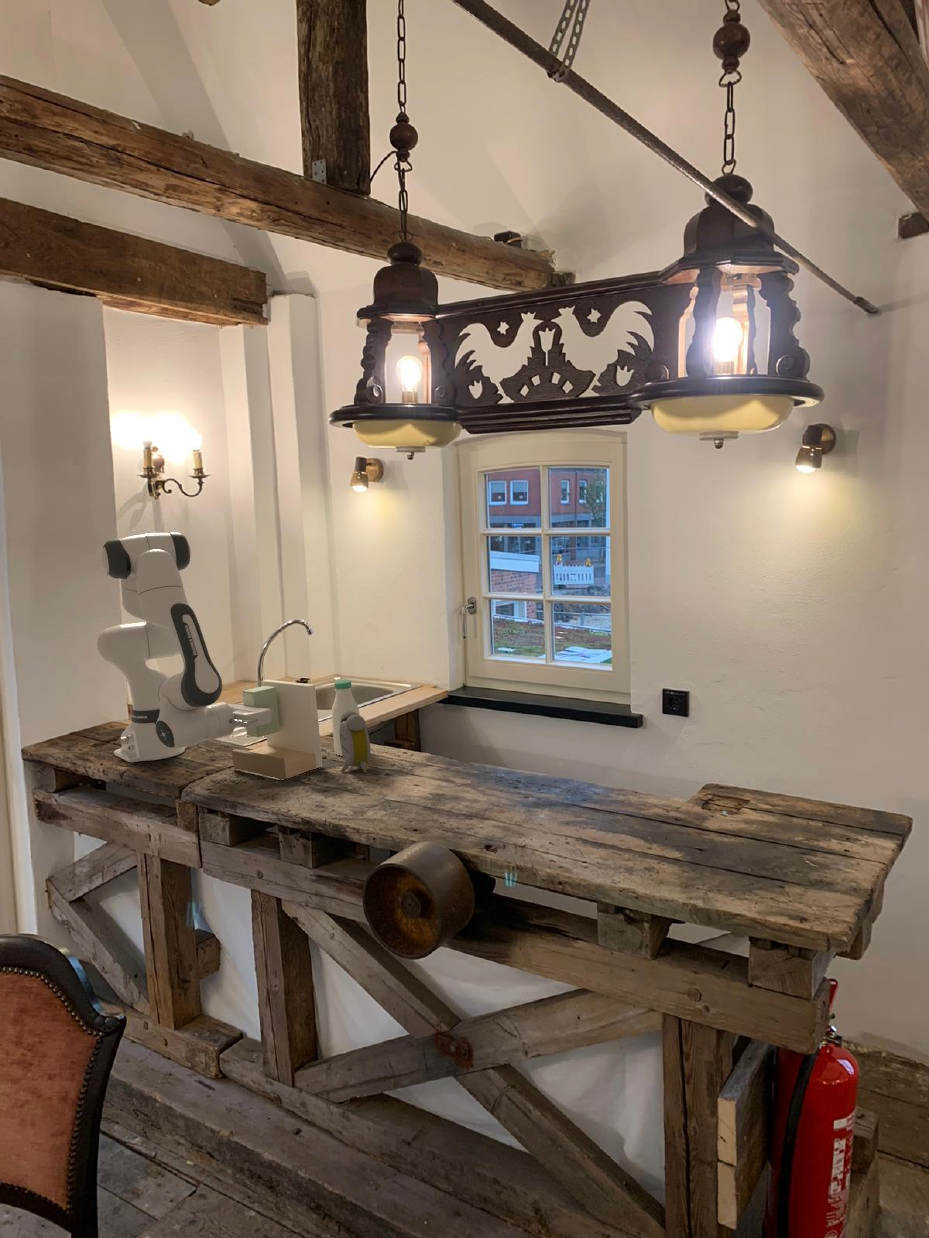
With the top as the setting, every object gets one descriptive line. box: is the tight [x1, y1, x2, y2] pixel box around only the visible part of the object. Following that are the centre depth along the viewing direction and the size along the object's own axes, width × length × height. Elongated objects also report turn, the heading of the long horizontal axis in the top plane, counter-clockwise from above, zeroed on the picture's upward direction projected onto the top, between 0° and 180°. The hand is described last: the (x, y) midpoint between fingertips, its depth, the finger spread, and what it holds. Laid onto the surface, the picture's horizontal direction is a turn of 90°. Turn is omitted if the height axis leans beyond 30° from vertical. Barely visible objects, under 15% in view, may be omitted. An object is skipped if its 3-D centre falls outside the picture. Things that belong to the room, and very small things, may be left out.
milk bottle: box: [331, 680, 361, 757], centre depth 238 cm, size 8×8×20 cm
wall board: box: [231, 679, 323, 780], centre depth 227 cm, size 20×14×22 cm
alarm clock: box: [340, 710, 371, 774], centre depth 221 cm, size 12×7×15 cm, turn 22°
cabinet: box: [242, 685, 280, 738], centre depth 230 cm, size 5×8×12 cm, turn 140°
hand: (264, 708), depth 231 cm, fingers closed on cabinet, 5 cm apart
